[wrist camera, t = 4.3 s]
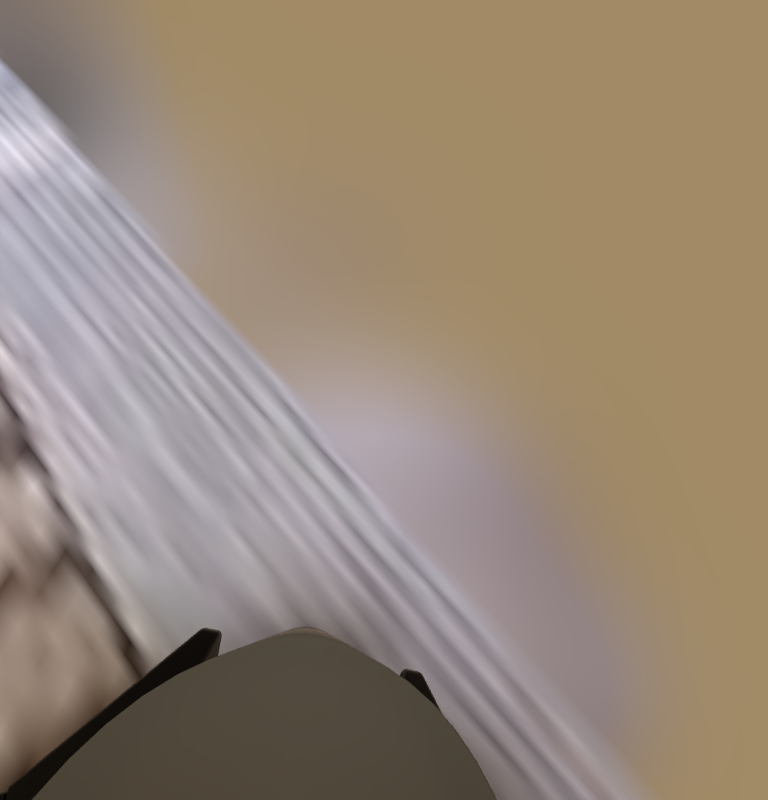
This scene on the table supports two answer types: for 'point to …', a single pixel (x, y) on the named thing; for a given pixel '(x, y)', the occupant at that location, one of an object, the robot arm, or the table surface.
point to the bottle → (277, 734)
